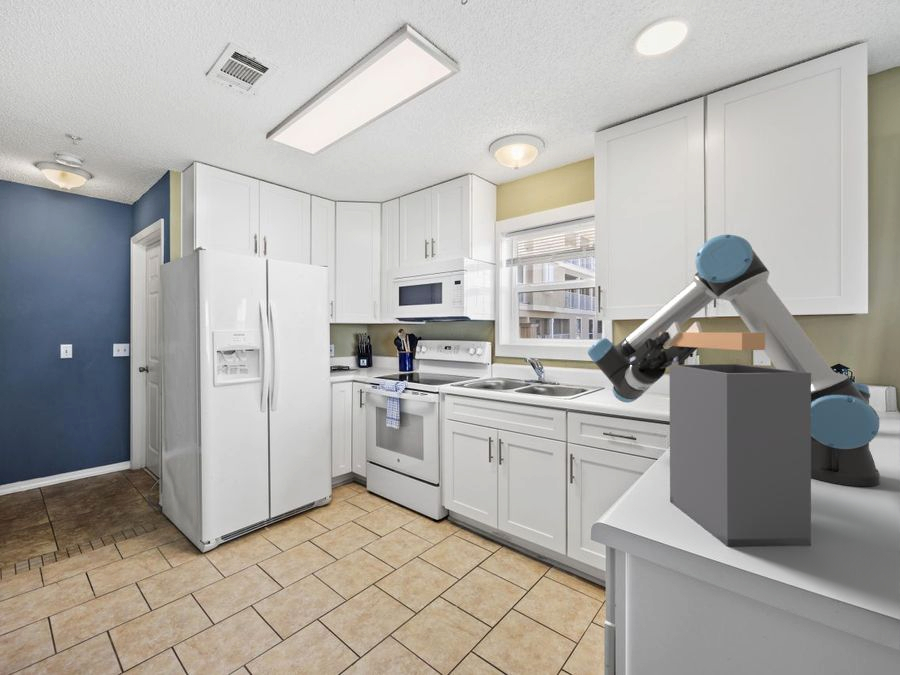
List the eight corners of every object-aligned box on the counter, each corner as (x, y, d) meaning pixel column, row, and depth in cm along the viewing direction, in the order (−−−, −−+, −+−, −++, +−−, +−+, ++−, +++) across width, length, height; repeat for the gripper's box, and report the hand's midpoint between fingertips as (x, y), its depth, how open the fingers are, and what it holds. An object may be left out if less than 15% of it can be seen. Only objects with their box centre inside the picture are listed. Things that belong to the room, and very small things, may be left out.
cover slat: (659, 345, 99) (659, 332, 99) (675, 344, 99) (675, 332, 99) (742, 350, 71) (742, 332, 71) (765, 349, 71) (765, 332, 71)
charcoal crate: (736, 500, 87) (736, 364, 86) (810, 545, 69) (811, 372, 68) (670, 501, 87) (669, 365, 87) (727, 546, 69) (726, 374, 69)
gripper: (680, 383, 109) (733, 341, 88) (616, 384, 109) (654, 342, 88) (672, 358, 113) (721, 312, 92) (610, 359, 113) (645, 313, 92)
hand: (688, 327), depth 90 cm, fingers closed on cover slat, 4 cm apart
